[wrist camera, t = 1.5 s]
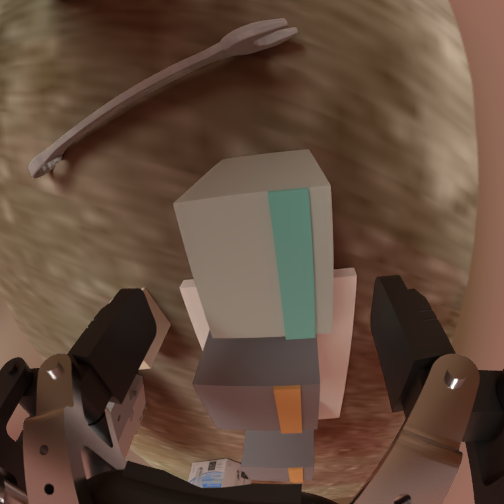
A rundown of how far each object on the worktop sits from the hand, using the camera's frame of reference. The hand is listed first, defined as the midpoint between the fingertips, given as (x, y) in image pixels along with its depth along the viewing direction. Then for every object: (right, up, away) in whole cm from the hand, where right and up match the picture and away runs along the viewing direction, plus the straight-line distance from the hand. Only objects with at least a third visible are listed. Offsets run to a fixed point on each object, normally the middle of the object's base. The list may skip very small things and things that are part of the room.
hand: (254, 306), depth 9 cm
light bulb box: (-6, -37, +32) cm, 49 cm away
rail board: (+2, -8, +14) cm, 17 cm away
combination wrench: (-7, +11, +6) cm, 14 cm away
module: (+1, +5, +8) cm, 9 cm away
